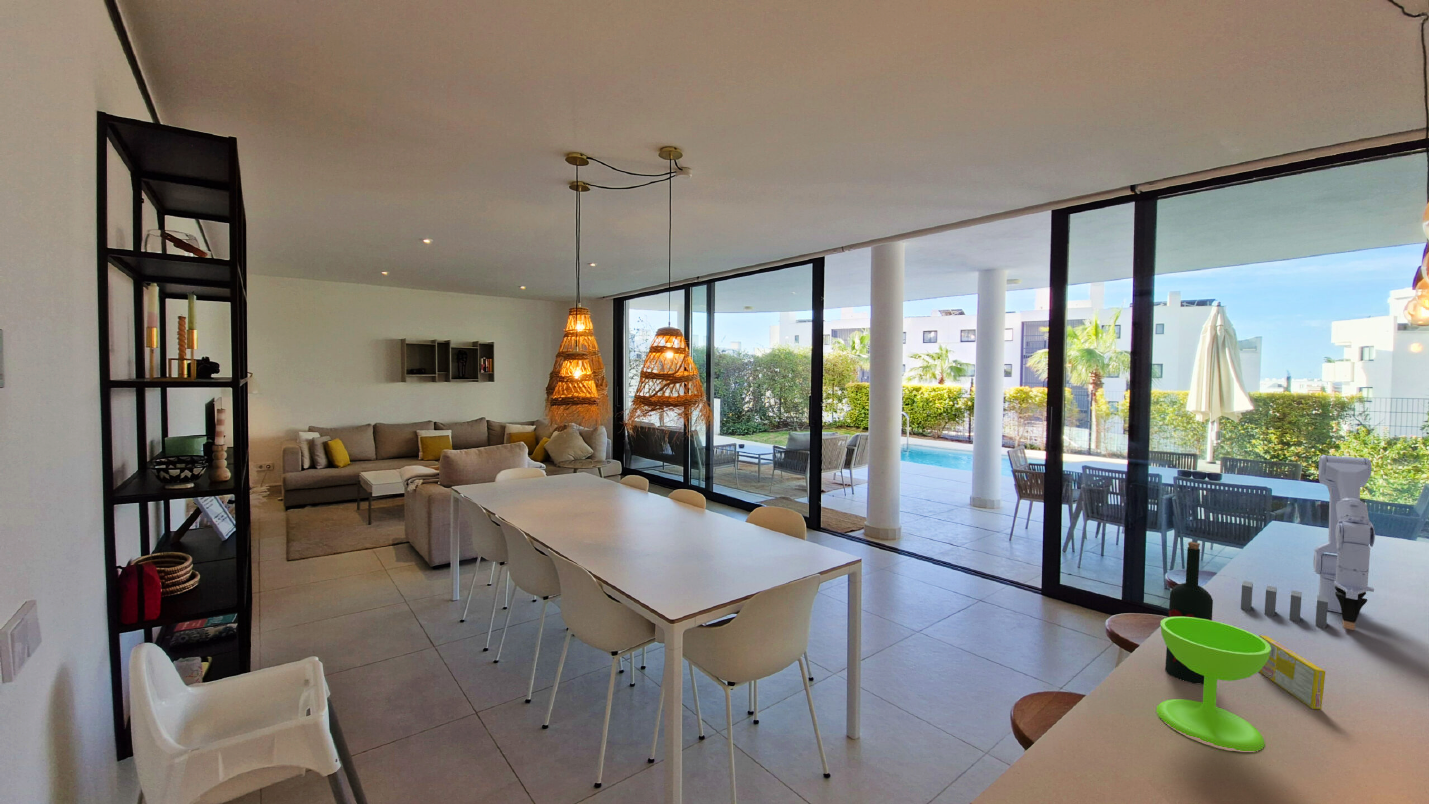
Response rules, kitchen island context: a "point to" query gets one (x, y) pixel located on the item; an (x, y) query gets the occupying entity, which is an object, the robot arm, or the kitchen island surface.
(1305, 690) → the candy box
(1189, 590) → the wine bottle
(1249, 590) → the tile
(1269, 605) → the tile
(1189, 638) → the wineglass
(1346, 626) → the tile head
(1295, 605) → the tile
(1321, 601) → the tile
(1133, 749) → the kitchen island surface
